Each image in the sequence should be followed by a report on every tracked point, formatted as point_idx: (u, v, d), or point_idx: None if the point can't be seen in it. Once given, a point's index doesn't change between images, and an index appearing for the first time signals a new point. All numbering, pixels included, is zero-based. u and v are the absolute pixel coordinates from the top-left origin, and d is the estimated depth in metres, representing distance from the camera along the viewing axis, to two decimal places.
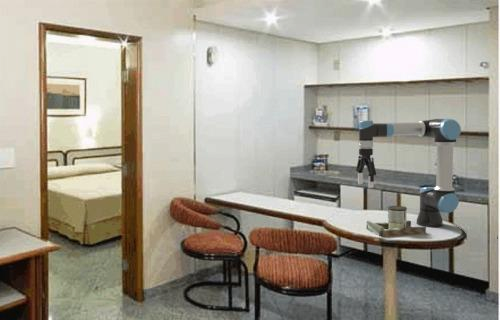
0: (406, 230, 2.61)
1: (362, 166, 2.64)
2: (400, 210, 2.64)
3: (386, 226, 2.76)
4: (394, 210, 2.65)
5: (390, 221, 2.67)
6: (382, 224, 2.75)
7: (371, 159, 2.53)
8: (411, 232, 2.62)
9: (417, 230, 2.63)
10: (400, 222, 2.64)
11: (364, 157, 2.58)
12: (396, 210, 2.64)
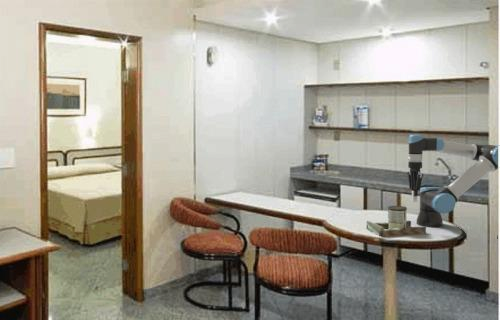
0: (406, 230, 2.61)
1: None
2: (400, 210, 2.64)
3: (386, 226, 2.76)
4: (394, 210, 2.65)
5: (390, 221, 2.67)
6: (382, 224, 2.75)
7: (420, 176, 2.63)
8: (411, 232, 2.62)
9: (417, 230, 2.63)
10: (400, 222, 2.64)
11: None
12: (396, 210, 2.64)
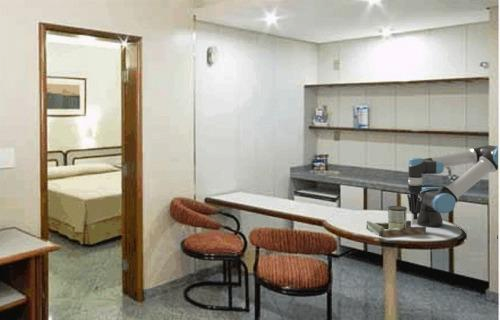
0: (406, 230, 2.61)
1: None
2: (400, 210, 2.64)
3: (386, 226, 2.76)
4: (394, 210, 2.65)
5: (390, 221, 2.67)
6: (382, 224, 2.75)
7: (420, 200, 2.64)
8: (411, 232, 2.62)
9: (417, 230, 2.63)
10: (400, 222, 2.64)
11: None
12: (396, 210, 2.64)
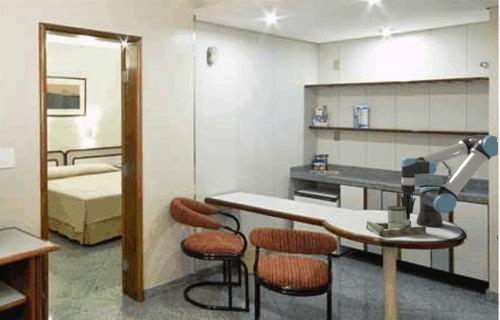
0: (406, 230, 2.61)
1: None
2: (400, 210, 2.63)
3: (386, 226, 2.76)
4: (394, 210, 2.64)
5: (390, 221, 2.67)
6: (382, 224, 2.75)
7: (413, 200, 2.64)
8: (411, 232, 2.62)
9: (417, 230, 2.63)
10: (400, 222, 2.64)
11: None
12: (396, 210, 2.64)
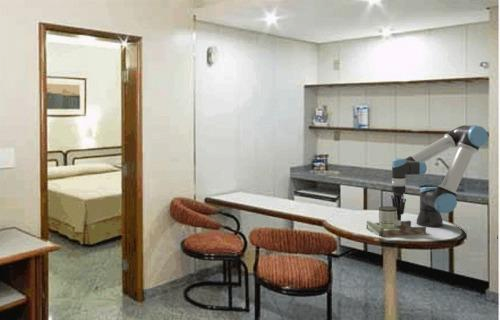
0: (406, 230, 2.61)
1: None
2: (391, 211, 2.62)
3: None
4: (385, 211, 2.63)
5: (381, 222, 2.66)
6: None
7: (403, 201, 2.62)
8: (411, 232, 2.62)
9: (417, 230, 2.63)
10: (391, 223, 2.63)
11: None
12: (387, 211, 2.63)
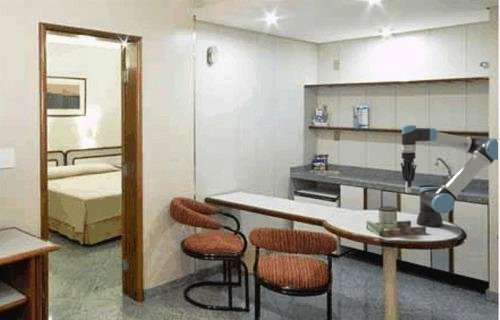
0: (406, 230, 2.61)
1: None
2: (391, 211, 2.62)
3: None
4: (385, 211, 2.63)
5: (381, 222, 2.66)
6: None
7: (414, 167, 2.63)
8: (411, 232, 2.62)
9: (417, 230, 2.63)
10: (391, 223, 2.63)
11: None
12: (387, 211, 2.63)
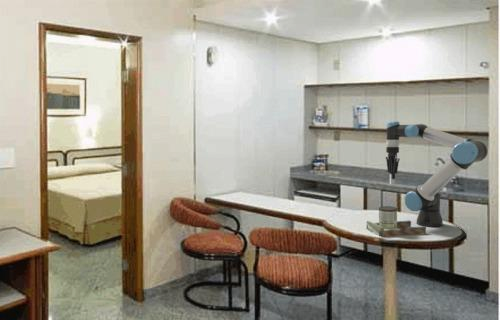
0: (406, 230, 2.61)
1: None
2: (391, 211, 2.62)
3: None
4: (385, 211, 2.63)
5: (381, 222, 2.66)
6: None
7: (397, 160, 2.82)
8: (411, 232, 2.62)
9: (417, 230, 2.63)
10: (391, 223, 2.63)
11: None
12: (387, 211, 2.63)
